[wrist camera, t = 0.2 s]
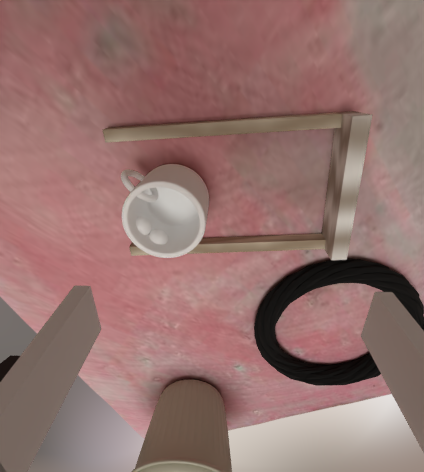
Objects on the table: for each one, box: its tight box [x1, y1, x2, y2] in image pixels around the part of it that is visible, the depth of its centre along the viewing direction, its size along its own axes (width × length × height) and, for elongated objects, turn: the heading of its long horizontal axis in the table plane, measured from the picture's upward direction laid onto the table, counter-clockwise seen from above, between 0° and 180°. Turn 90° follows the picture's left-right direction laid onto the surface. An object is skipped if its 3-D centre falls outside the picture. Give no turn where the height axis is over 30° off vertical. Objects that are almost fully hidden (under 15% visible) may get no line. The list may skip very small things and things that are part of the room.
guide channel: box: [103, 111, 372, 260], centre depth 37 cm, size 18×30×5 cm, turn 94°
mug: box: [121, 164, 209, 258], centre depth 36 cm, size 12×10×9 cm
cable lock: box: [254, 259, 424, 385], centre depth 49 cm, size 28×4×30 cm
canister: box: [132, 379, 232, 472], centre depth 52 cm, size 18×18×21 cm
